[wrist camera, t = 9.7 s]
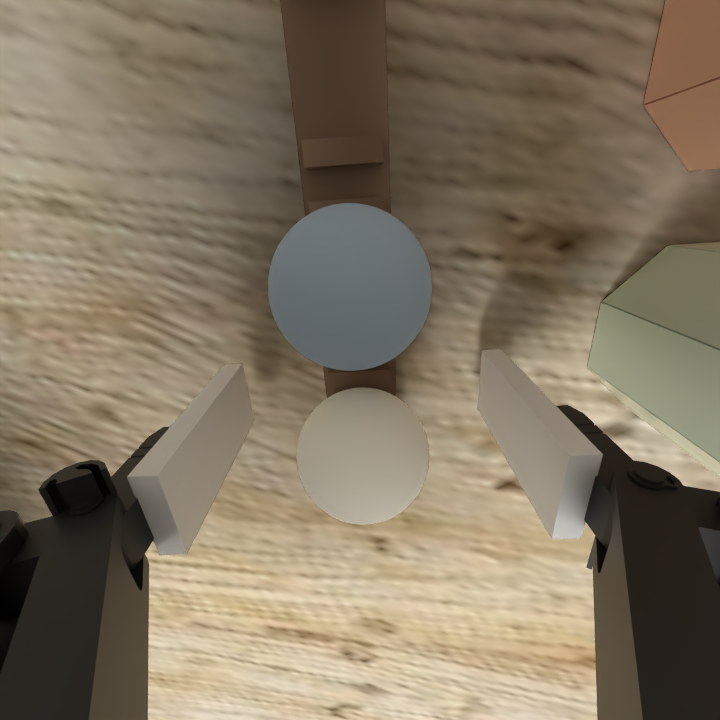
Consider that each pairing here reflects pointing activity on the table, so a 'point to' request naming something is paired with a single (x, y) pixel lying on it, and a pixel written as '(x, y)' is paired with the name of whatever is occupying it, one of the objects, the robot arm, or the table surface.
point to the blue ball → (349, 286)
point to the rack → (341, 121)
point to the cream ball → (362, 456)
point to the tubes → (674, 259)
